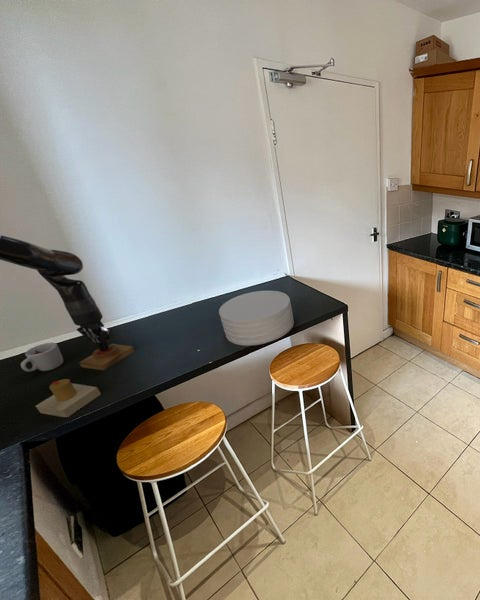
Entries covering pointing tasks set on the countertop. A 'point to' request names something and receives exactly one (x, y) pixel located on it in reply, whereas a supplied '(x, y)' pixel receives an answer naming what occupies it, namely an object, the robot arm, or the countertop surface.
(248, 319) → the plate stack
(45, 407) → the panel
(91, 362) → the button block
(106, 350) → the button
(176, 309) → the countertop surface
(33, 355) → the cup
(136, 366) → the countertop surface
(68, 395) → the lock knob
